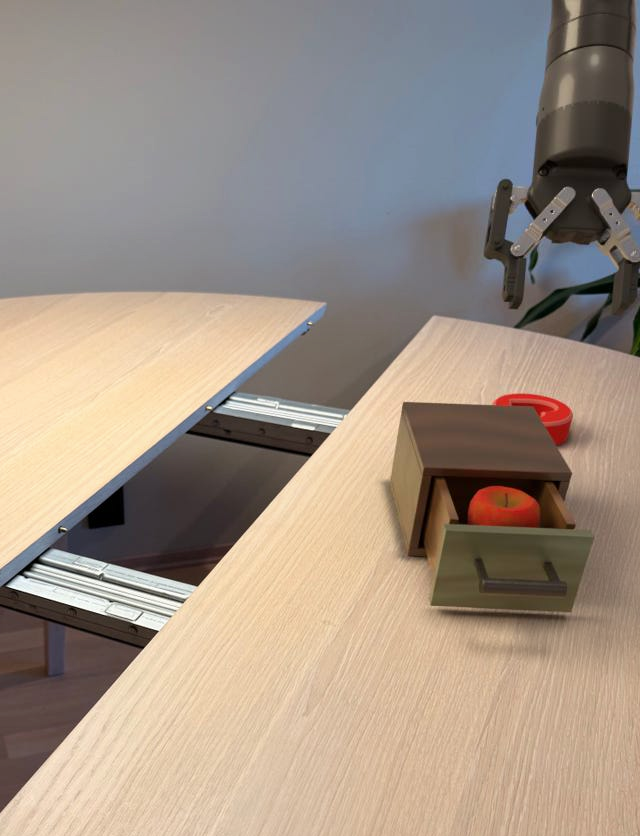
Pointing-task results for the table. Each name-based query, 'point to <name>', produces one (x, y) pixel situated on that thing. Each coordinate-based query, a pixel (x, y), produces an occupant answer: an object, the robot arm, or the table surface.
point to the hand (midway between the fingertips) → (567, 309)
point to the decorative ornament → (543, 412)
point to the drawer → (502, 550)
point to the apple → (503, 508)
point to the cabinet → (467, 454)
